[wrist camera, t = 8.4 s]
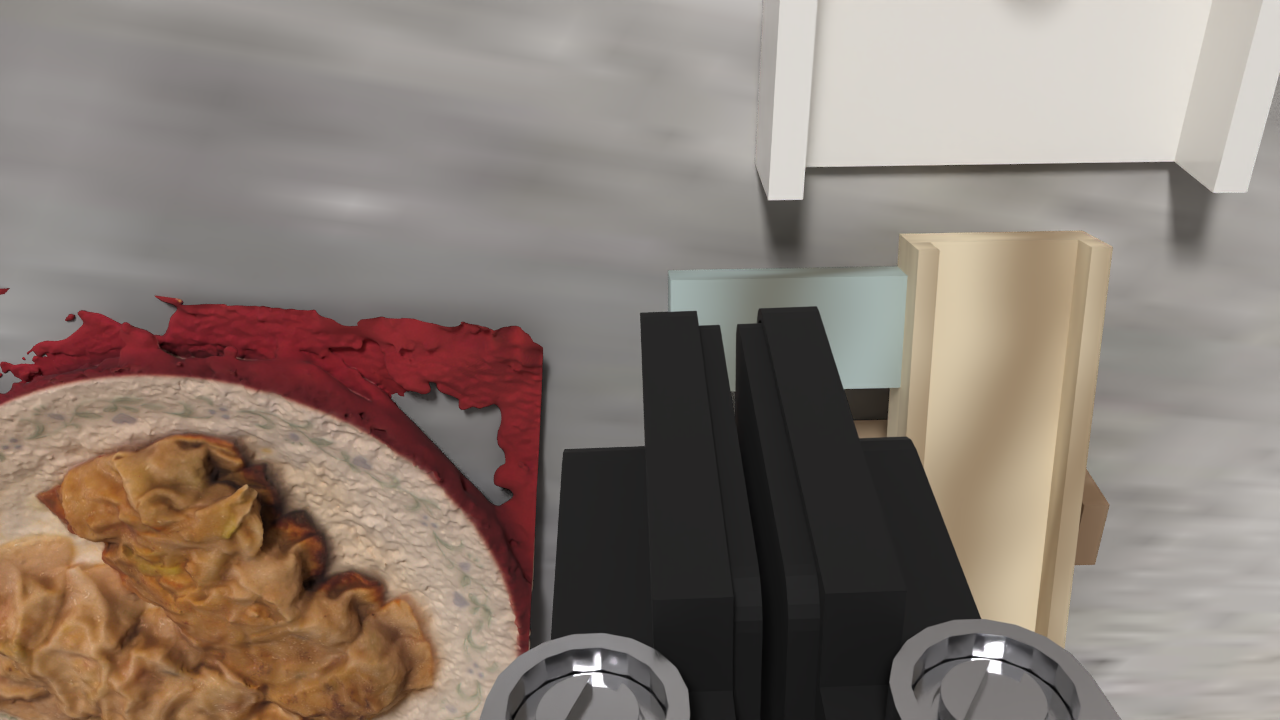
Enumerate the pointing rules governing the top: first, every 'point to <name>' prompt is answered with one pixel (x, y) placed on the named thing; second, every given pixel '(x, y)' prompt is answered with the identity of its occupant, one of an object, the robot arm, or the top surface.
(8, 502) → the plate with food
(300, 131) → the top surface
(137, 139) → the top surface
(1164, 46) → the dish
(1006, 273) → the lever
